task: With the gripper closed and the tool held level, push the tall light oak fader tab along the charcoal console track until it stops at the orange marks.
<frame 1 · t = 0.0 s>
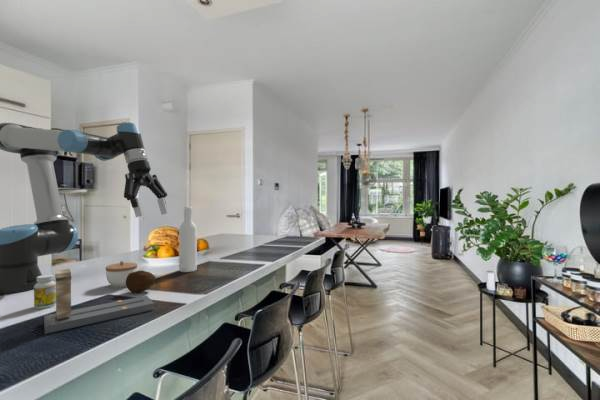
hand: (153, 214, 116), 28 cm above the kitchen island, tool tilted 20°, fingers open, 13 cm apart
potato: (141, 292, 111), on the kitchen island
lidded jar: (121, 285, 119), on the kitchen island
fader tab: (63, 293, 83), point 9 cm above the kitchen island, slide at 0.0 cm
console track: (102, 315, 89), on the kitchen island
supplement bottle: (45, 306, 96), on the kitchen island
bottle: (188, 270, 143), on the kitchen island
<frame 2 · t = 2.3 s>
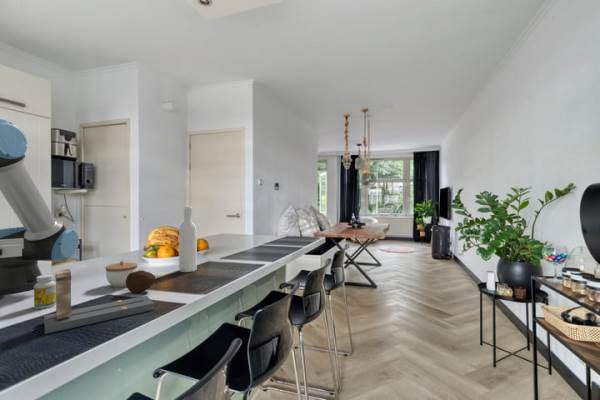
hand: (22, 246, 77), 22 cm above the kitchen island, tool horizontal, fingers open, 13 cm apart
nothing on the kitchen island moved.
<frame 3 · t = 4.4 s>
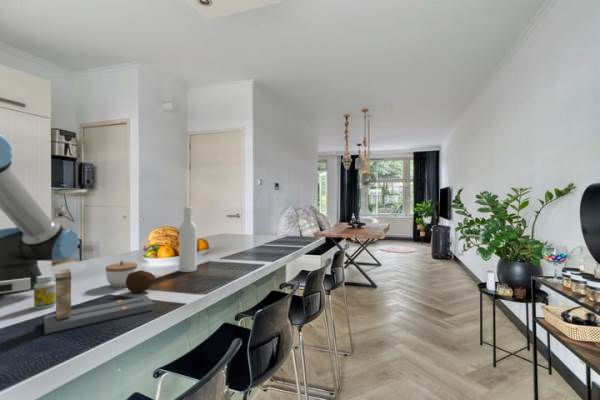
hand: (30, 283, 78), 13 cm above the kitchen island, tool horizontal, fingers closed
nothing on the kitchen island moved.
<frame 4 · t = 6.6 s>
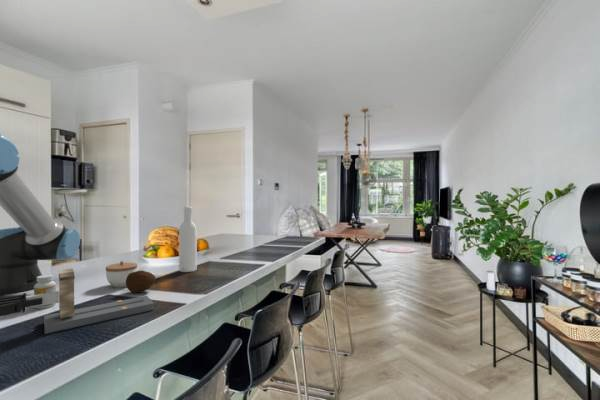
hand: (58, 296, 81), 8 cm above the kitchen island, tool horizontal, fingers closed
fader tab: (66, 292, 83), point 9 cm above the kitchen island, slide at 0.7 cm, touching gripper
everything else where it was.
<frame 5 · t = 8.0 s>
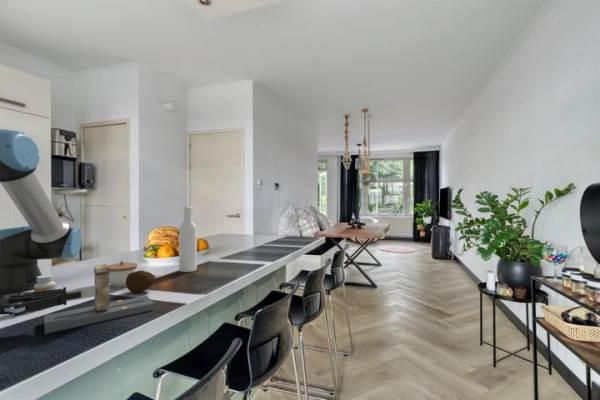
hand: (95, 290, 87), 8 cm above the kitchen island, tool horizontal, fingers closed
fader tab: (101, 286, 89), point 9 cm above the kitchen island, slide at 8.9 cm, touching gripper
everything else where it was.
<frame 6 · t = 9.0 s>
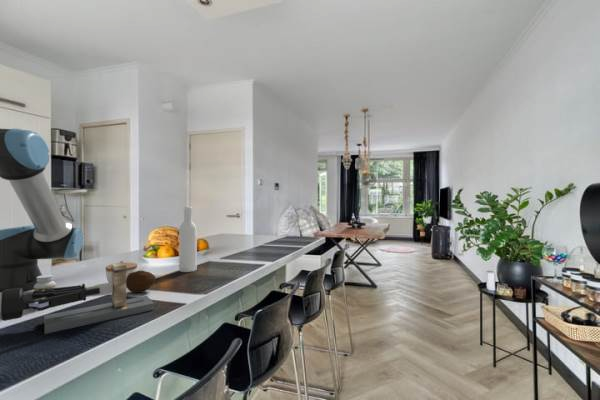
hand: (112, 287, 90), 8 cm above the kitchen island, tool horizontal, fingers closed
fader tab: (118, 284, 91), point 9 cm above the kitchen island, slide at 13.2 cm, touching gripper
everything else where it was.
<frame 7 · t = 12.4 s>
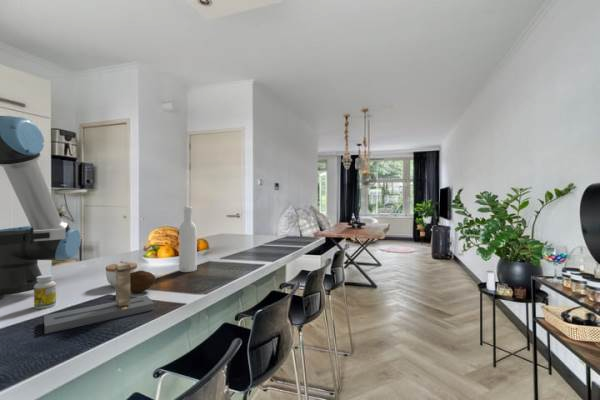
hand: (65, 233, 83), 25 cm above the kitchen island, tool horizontal, fingers closed
fader tab: (122, 283, 92), point 9 cm above the kitchen island, slide at 14.3 cm
everything else where it was.
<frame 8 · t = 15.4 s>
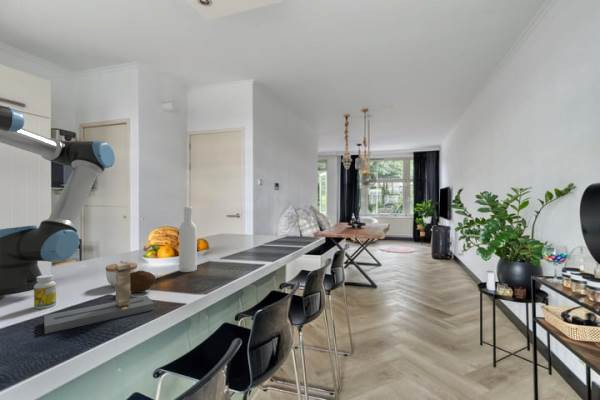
nothing on the kitchen island moved.
at the end: fader tab slide at 14.3 cm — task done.
